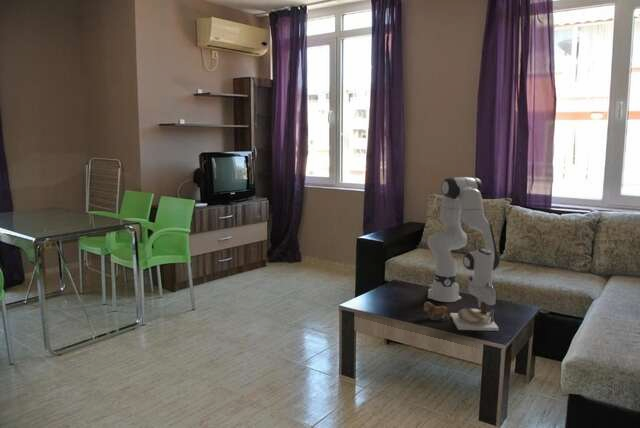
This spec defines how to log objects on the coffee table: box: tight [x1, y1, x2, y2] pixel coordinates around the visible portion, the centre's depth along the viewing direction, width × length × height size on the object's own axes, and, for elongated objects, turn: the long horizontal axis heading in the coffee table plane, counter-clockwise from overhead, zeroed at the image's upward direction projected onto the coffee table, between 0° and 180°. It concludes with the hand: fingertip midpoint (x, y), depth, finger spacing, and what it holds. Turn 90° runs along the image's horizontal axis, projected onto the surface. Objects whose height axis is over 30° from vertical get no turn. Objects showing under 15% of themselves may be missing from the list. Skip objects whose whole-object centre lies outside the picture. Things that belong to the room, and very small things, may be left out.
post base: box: [449, 309, 500, 332], centre depth 254 cm, size 19×19×8 cm
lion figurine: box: [423, 301, 452, 321], centre depth 259 cm, size 15×5×9 cm, turn 93°
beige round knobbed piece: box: [457, 302, 491, 322], centre depth 254 cm, size 17×15×6 cm
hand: (480, 307), depth 258 cm, fingers closed
